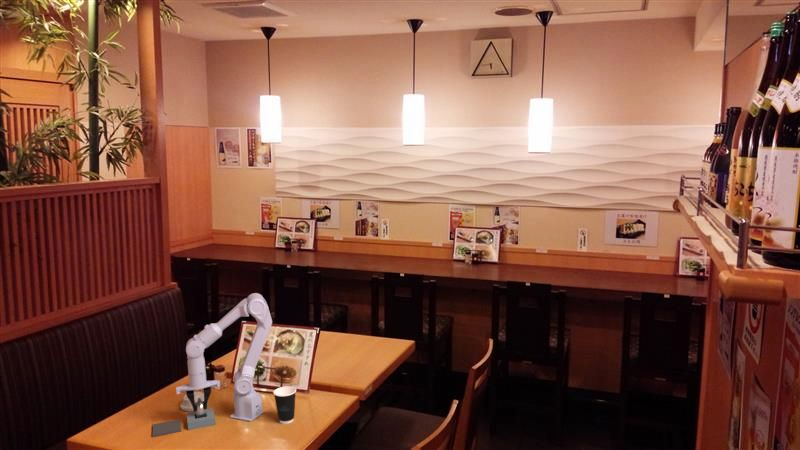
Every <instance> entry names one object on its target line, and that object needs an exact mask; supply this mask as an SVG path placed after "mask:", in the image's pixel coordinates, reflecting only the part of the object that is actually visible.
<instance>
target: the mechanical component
mask: <svg viewBox="0 0 800 450" xmlns="http://www.w3.org/2000/svg"><path fill="white" fill-rule="evenodd" d="M198 398H201V401H204V392H202V391H194V400H195V403H196V402H197V401H198ZM182 399H183V400H182V401H181V402H180V405H179V407H180V410H181V411H183V412H194V409H193V406H192V404H191V402H190V400H189V399H188V397H187V395H186V394H184V395H183V398H182ZM208 405H209V402H208V403H207V406H208Z"/></svg>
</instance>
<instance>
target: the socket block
mask: <svg viewBox="0 0 800 450" xmlns="http://www.w3.org/2000/svg"><path fill="white" fill-rule="evenodd" d="M214 411H215V410H214V407H211V408H207V409H205V417H202V418H196V411H195V412H194V411H187V412H186V420H187V421H186V422H187V429H188V431H190V430H196V429H201V428H205V427H210V426H215V425H216V416H215V413H214Z"/></svg>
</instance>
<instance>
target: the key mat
mask: <svg viewBox="0 0 800 450" xmlns="http://www.w3.org/2000/svg"><path fill="white" fill-rule="evenodd" d="M181 423H182V422H181V419H180V418H179V419H173V420H167V421H164V422H157V423H153V424H152V438H155V437H160V436H164V435H171V434H175V433H180V432H182V426H181V425H182V424H181Z"/></svg>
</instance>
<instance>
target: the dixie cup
mask: <svg viewBox="0 0 800 450" xmlns="http://www.w3.org/2000/svg"><path fill="white" fill-rule="evenodd" d="M296 392H297V388H296V387H293V386H281V387H278V388H276V389H274V390H273V392H272V394H273V395H274V400H275V406H276V411H277V413H276V414H277V416H278V420H279V423H280V424H283V425H287V424H291V423H293V422H294V418H295V408H296V407H295V406H296Z"/></svg>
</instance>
